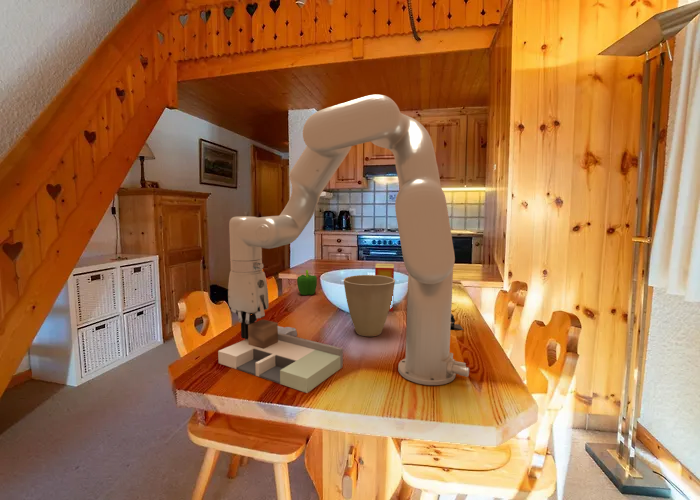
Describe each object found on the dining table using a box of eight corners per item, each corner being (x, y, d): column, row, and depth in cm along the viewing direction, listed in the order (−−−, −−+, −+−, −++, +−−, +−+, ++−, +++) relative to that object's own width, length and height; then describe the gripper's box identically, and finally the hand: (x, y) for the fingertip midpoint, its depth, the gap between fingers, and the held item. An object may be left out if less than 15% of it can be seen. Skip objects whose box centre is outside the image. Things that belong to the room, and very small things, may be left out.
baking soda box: (393, 311, 125) (394, 267, 123) (374, 310, 126) (375, 266, 124) (392, 304, 135) (393, 262, 133) (375, 303, 135) (376, 262, 134)
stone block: (267, 337, 106) (244, 341, 97) (270, 321, 106) (246, 324, 97) (301, 345, 100) (279, 351, 91) (303, 328, 100) (281, 332, 91)
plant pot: (402, 329, 107) (403, 278, 105) (378, 345, 94) (379, 287, 92) (360, 320, 115) (360, 272, 113) (333, 334, 103) (333, 280, 101)
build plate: (428, 332, 107) (428, 317, 106) (424, 324, 114) (424, 310, 113) (469, 333, 106) (470, 318, 106) (463, 324, 113) (463, 311, 113)
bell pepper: (314, 297, 145) (314, 273, 143) (294, 296, 146) (294, 272, 145) (319, 292, 153) (319, 269, 151) (301, 291, 154) (301, 268, 153)
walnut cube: (277, 342, 89) (277, 322, 88) (263, 348, 84) (263, 328, 84) (263, 338, 91) (262, 319, 90) (248, 344, 87) (248, 324, 86)
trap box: (342, 366, 82) (342, 348, 81) (307, 393, 70) (306, 371, 70) (260, 344, 95) (259, 328, 94) (218, 363, 83) (217, 344, 83)
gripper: (279, 266, 87) (280, 338, 90) (237, 261, 95) (239, 327, 97) (257, 271, 81) (258, 348, 83) (213, 265, 89) (216, 335, 91)
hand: (248, 336), depth 90 cm, fingers closed
